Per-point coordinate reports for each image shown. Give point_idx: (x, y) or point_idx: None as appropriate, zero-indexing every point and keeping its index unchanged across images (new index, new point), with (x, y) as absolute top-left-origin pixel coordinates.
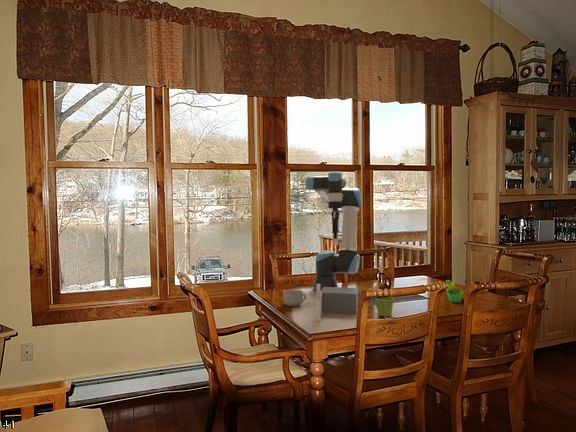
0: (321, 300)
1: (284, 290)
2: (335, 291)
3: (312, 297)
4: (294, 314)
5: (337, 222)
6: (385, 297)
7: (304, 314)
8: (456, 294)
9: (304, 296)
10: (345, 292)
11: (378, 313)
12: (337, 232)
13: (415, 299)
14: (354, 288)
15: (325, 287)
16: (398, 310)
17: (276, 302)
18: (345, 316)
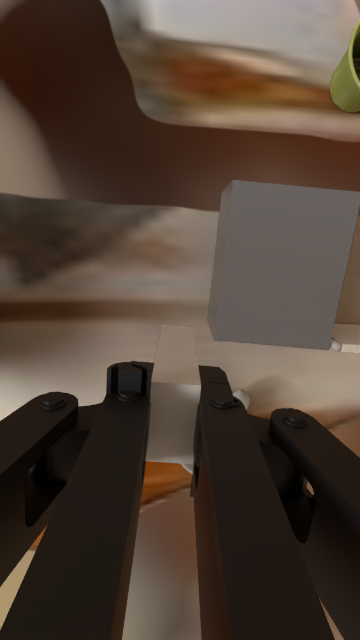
0: (346, 336)
1: None
2: (309, 287)
3: (91, 364)
4: (323, 403)
5: (278, 592)
6: (352, 44)
7: (324, 374)
8: None
9: (249, 398)
10: (332, 242)
11: (355, 111)
12: (235, 397)
13: None
14: (246, 196)
15: (227, 331)
16: (278, 13)
17: (175, 469)
18: (356, 242)
